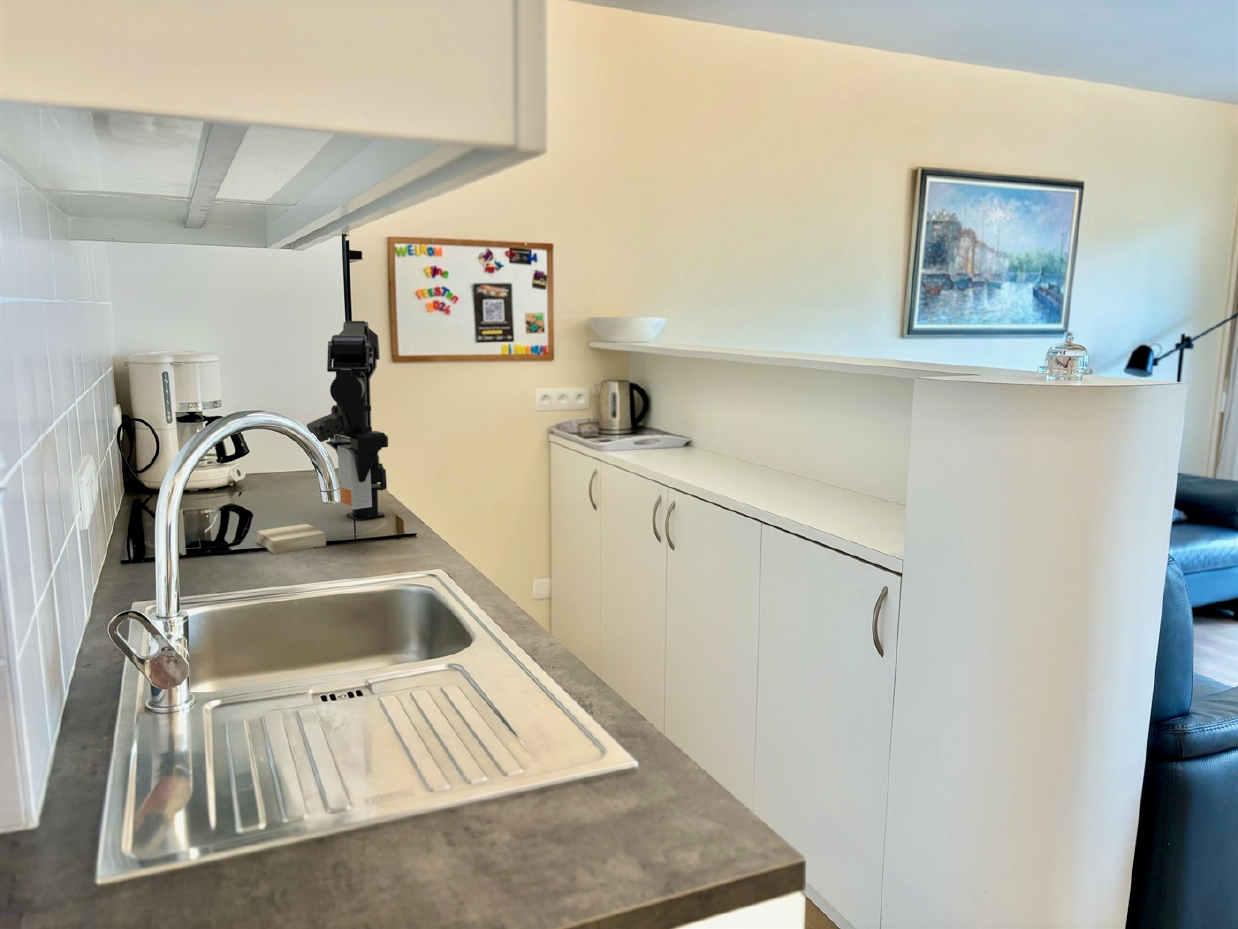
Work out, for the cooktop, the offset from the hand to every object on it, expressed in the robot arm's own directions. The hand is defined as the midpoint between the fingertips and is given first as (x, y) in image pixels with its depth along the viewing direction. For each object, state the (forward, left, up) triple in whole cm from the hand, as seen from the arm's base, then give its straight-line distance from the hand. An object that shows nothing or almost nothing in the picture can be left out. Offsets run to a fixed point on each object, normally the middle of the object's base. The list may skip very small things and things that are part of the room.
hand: (354, 479), depth 178 cm
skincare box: (0, 0, -6) cm, 6 cm away
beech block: (-7, -11, -13) cm, 18 cm away
